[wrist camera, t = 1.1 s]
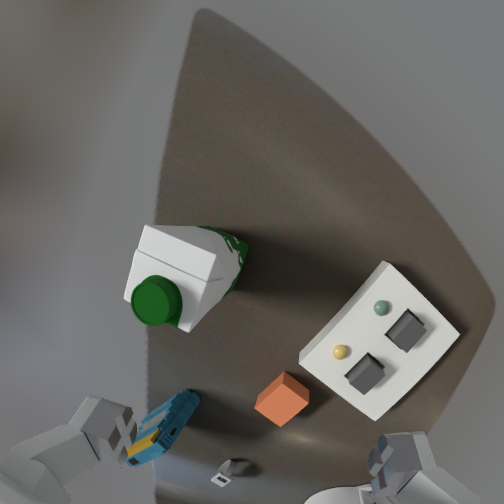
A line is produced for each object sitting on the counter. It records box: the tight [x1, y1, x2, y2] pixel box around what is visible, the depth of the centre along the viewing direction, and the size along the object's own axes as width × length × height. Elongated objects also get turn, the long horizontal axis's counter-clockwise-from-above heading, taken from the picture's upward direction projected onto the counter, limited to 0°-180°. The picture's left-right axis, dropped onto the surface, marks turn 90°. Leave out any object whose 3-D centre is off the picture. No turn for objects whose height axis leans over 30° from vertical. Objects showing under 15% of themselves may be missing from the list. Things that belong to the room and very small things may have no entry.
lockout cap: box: [255, 371, 309, 427], centre depth 43 cm, size 5×6×4 cm
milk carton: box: [124, 225, 249, 332], centre depth 35 cm, size 9×9×20 cm
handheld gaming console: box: [125, 389, 200, 467], centre depth 41 cm, size 10×4×15 cm, turn 132°
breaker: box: [387, 311, 427, 353], centre depth 37 cm, size 3×4×4 cm
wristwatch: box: [211, 460, 236, 487], centre depth 46 cm, size 6×3×5 cm, turn 146°
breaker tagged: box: [347, 352, 385, 395], centre depth 39 cm, size 3×4×4 cm
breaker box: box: [299, 261, 460, 421], centre depth 40 cm, size 16×18×5 cm
